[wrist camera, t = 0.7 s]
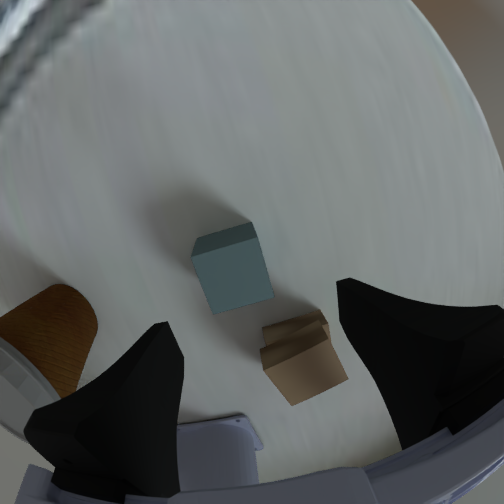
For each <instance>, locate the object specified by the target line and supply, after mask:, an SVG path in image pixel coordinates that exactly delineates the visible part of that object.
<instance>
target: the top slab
mask: <svg viewBox="0 0 504 504" xmlns="http://www.w3.org/2000/svg"><path fill="white" fill-rule="evenodd" d="M260 354H261V359H262V365H263V371H264V372H265V373H266V375H267V376H268V377H269V378H270V380H271V381H272V382H273V384H274V385H275V386H276V387H277V389H278V390H279V391H280V392H281V393H282V395H283V396H284V397H285V398H286V400H287V401H288V402H289V403H290V405H291V406H293V405H296V404H298V403H300V402H302V401H305V400H307V399H309V398H311V397H313V396H316V395H318V394H320V393H322V392H324V391H326V390H328V389H330V388H332V387H334V386H336V385H338V384H340V383H342V382H344V381H346V380H348V377H347V375H346V373H345V370H344V368H343V366H342V364H341V362H340V360H339V358H338V356H337V354H336V352H335V350H334V348H333V346H332V344H331V342H330V340H329V338H328V336H327V334H326V332H325V331H324V329H323V327H322V325H321V323H320V321H319V320H317V321H315V322H313V323H311V324H309V325H308V326H306V327H304V328H302V329H300V330H298V331H296V332H294V333H292V334H290V335H288V336H286V337H284V338H282V339H280V340H278V341H276V342H274V343H272V344H270V345H268V346H266V347H263V348H261V349H260Z"/></svg>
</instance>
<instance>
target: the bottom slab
mask: <svg viewBox="0 0 504 504" xmlns="http://www.w3.org/2000/svg"><path fill="white" fill-rule="evenodd" d="M317 320H319V321H320V323H321V325H322V327H323V329H324V331H325V332H326V334H327V336H328V338H329V340H330V342H331V337H330V331H329V325H328V322H327V320H326V319H325V317H324V315H323V314H322V312H321V310H318V311H315V312H311V313H308V314H305V315H302V316H299V317H296V318H292V319H289V320H286V321H283V322H279V323H276V324H272V325H269V326H265V327H262V329H263V334H264V339H265V343H266V346H268V345H270V344H272V343H274V342H276V341H278V340H280V339H282V338H284V337H286V336H288V335H290V334H292V333H294V332H296V331H298V330H300V329H302V328H304V327H306V326H308V325H309V324H311V323H313V322H315V321H317Z"/></svg>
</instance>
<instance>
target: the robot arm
mask: <svg viewBox="0 0 504 504" xmlns="http://www.w3.org/2000/svg"><path fill="white" fill-rule="evenodd" d="M336 285H337V296H338V308H339V321H340V323H341V325H342V328H343V330H344V332H345V334H346V336H347V338H348V340H349V342H350V343H351V345H352V346H353V348H354V349H355V351H356V352H357V354H358V355H359V357H360V358H361V360H362V361H363V363H364V364H365V366H366V367H367V369H368V371H369V372H370V374H371V375H372V377H373V379H374V381H375V382H376V384H377V387H378V389H379V391H380V393H381V395H382V397H383V399H384V402H385V404H386V406H387V409H388V411H389V414H390V416H391V419H392V421H393V424H394V427H395V429H396V432H397V435H398V438H399V441H400V444H401V447H402V451H400V452H398V453H396V454H394V455H391V456H389V457H387V458H385V459H382V460H380V461H377V462H375V463H372V464H370V465H367V466H365V467H362V468H358V467H338V468H333V469H328V470H323V471H318V472H314V473H310V474H306V475H302V476H298V477H293V478H288V479H284V480H278V481H273V482H267V483H261V484H259V478H258V470H257V462H256V454H255V451H258V450H262V449H263V445H262V443H261V441H260V439H259V438H258V436H257V434H256V432H255V430H254V429H253V427H252V425H251V423H250V421H249V419H248V418H247V416H245V415H239V416H234V417H229V418H223V419H217V420H211V421H205V422H198V423H191V424H182V425H177V419H178V412H179V405H180V399H181V393H182V386H183V380H184V356H183V354H182V352H181V350H180V348H179V346H178V343H177V341H176V339H175V337H174V335H173V332H172V330H171V328H170V325H169V323H168V321H166V322H161V323H156V324H154V325H153V326H151V327H150V328H149V329H148V330H147V331H146V332H145V333H144V334H143V335H142V336H141V337H140V338H139V339H138V340H137V341H136V342H135V344H134V345H133V346H132V347H131V348H130V349H129V350H128V351H127V352H126V353H125V354H123V355H122V356H121V357H120V358H119V359H118V360H117V361H116V362H115V363H114V364H113V365H112V366H111V367H110V368H108V369H107V370H106V371H105V372H103V373H102V374H101V375H100V376H98V377H97V378H96V379H94V380H93V381H91V382H90V383H88V384H87V385H85V386H84V387H82V388H80V389H79V390H77V391H76V392H74V393H72V394H70V395H68V396H66V397H64V398H62V399H60V400H58V401H56V402H53V403H51V404H48V405H46V406H43V407H40V408H37V409H35V410H34V411H33V412H32V414H31V416H30V418H29V420H28V422H27V424H26V426H25V427H24V430H23V433H24V435H25V438H26V439H27V441H28V442H29V444H30V445H31V446H32V447H33V448H34V449H35V450H37V452H39V453H40V454H41V455H42V456H43V457H44V458H45V459H46V460H47V461H49V462H50V463H51V464H52V465H53V466H54V467H55V470H54V473H52V472H51V471H49V470H47V469H44V468H41V467H38V466H35V465H32V464H29V465H28V468H27V470H26V473H25V476H24V478H23V481H22V484H21V487H20V489H19V492H18V495H17V498H16V501H15V504H452V503H453V502H455V501H456V500H458V499H459V498H461V497H462V496H463V495H465V494H466V493H468V492H469V491H470V490H472V489H473V488H474V487H476V486H477V485H478V484H480V483H481V482H482V481H484V480H485V479H486V478H487V477H488V476H490V475H491V474H492V473H493V472H495V471H496V470H497V469H498V468H499V467H500V466H501V465H503V464H504V309H502V308H501V307H500V306H498V305H489V306H477V307H457V306H444V305H436V304H430V303H424V302H420V301H415V300H411V299H407V298H404V297H401V296H398V295H395V294H392V293H389V292H386V291H383V290H381V289H378V288H376V287H373V286H371V285H368V284H366V283H363V282H361V281H358V280H355V279H352V278H346V279H343V280H339V281H336Z"/></svg>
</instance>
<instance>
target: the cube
mask: <svg viewBox="0 0 504 504" xmlns="http://www.w3.org/2000/svg"><path fill="white" fill-rule="evenodd" d="M191 260H192V262H193V265H194V268H195V270H196V273H197V275H198V278H199V281H200V283H201V286H202V288H203V291H204V293H205V296H206V298H207V301H208V303H209V306H210V308H211V311H212V313H213V314H217V313H221V312H224V311H228V310H232V309H235V308H239V307H242V306H246V305H250V304H253V303H257V302H260V301H263V300H267V299H270V298H274V297H275V296H274V293H273V289H272V286H271V282H270V279H269V275H268V271H267V268H266V264H265V261H264V257H263V254H262V250H261V247H260V243H259V240H258V237H257V234H256V231H255V229H254V226H253V224H252V222H249V223H246V224H243V225H239V226H236V227H233V228H229V229H226V230H223V231H219V232H216V233H213V234H209V235H206V236H203V237H200V238H197V240H196V243H195V246H194V249H193V252H192V255H191Z"/></svg>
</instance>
